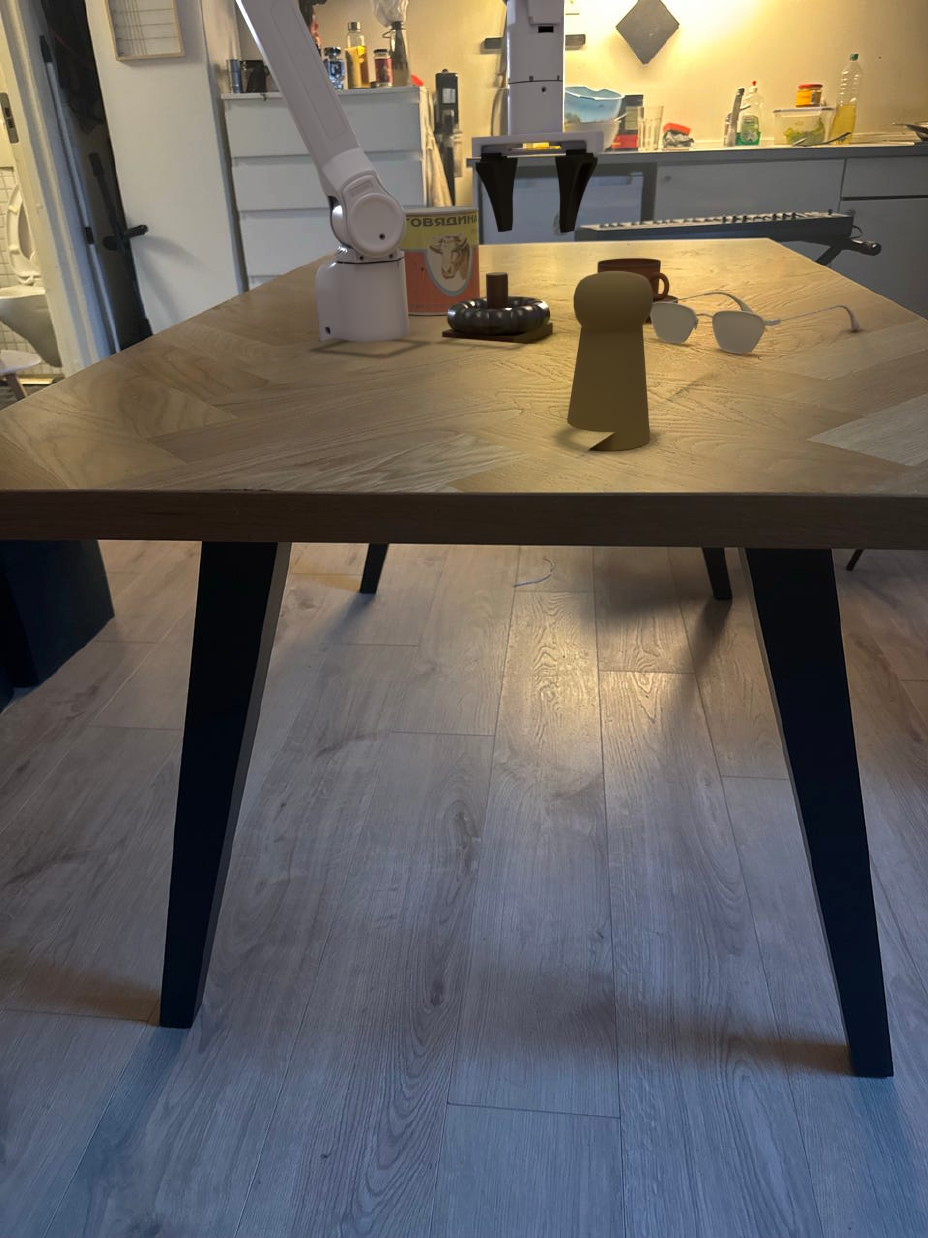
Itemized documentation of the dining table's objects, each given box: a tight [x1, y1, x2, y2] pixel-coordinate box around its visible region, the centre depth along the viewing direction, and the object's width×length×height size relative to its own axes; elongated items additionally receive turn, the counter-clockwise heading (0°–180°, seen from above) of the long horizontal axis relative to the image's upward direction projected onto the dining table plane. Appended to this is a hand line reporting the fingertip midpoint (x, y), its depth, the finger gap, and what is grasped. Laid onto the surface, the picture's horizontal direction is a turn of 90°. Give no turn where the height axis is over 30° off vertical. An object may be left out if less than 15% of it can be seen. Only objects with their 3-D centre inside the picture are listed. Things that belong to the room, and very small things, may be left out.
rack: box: [441, 271, 554, 345], centre depth 93 cm, size 9×9×7 cm
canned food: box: [399, 205, 481, 316], centre depth 111 cm, size 11×11×12 cm
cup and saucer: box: [596, 257, 679, 319], centre depth 102 cm, size 12×12×6 cm
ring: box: [446, 295, 551, 335], centre depth 93 cm, size 11×11×3 cm
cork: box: [566, 271, 653, 452], centre depth 58 cm, size 6×6×11 cm
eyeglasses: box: [649, 291, 861, 355], centre depth 90 cm, size 15×18×4 cm
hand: (535, 231), depth 92 cm, fingers open, 7 cm apart
